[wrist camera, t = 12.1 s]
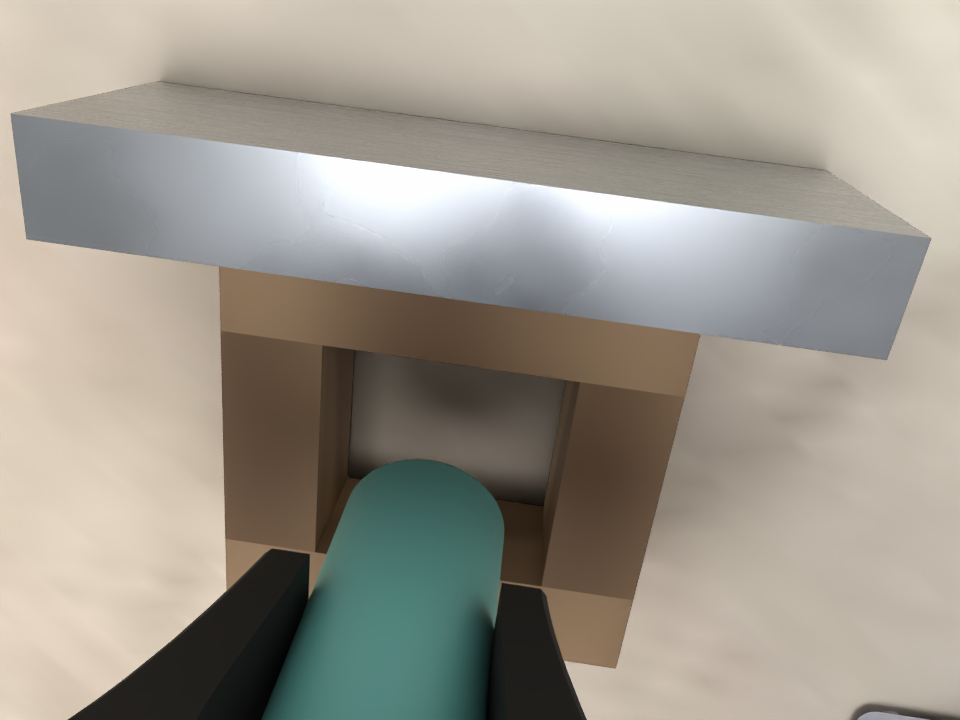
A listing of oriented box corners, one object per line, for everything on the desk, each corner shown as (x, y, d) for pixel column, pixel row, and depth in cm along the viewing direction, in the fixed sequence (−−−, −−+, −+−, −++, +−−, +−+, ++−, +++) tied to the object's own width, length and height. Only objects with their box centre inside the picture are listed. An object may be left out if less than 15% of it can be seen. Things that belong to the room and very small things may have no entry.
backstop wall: (827, 170, 16) (931, 238, 12) (799, 263, 17) (886, 360, 13) (157, 81, 17) (10, 112, 12) (163, 176, 18) (26, 238, 13)
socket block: (685, 250, 17) (709, 298, 14) (608, 580, 21) (615, 668, 18) (271, 194, 17) (218, 230, 15) (269, 529, 21) (227, 608, 18)
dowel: (521, 481, 14) (483, 999, 7) (484, 604, 16) (421, 1142, 8) (357, 442, 14) (153, 925, 7) (334, 569, 16) (144, 1080, 8)
